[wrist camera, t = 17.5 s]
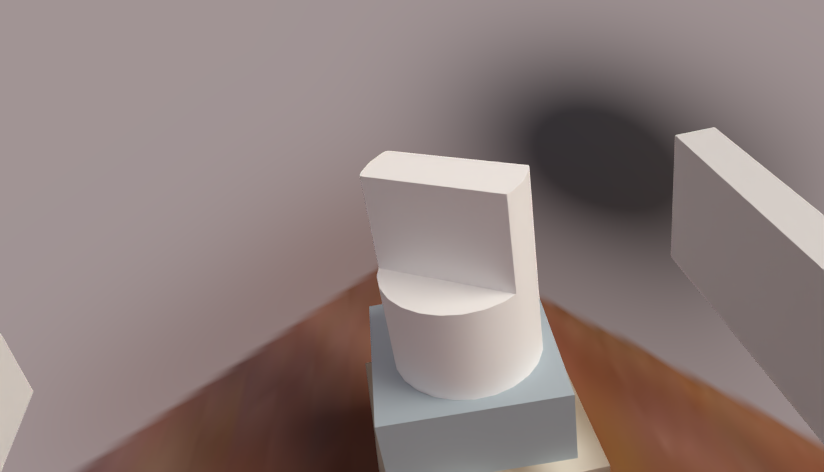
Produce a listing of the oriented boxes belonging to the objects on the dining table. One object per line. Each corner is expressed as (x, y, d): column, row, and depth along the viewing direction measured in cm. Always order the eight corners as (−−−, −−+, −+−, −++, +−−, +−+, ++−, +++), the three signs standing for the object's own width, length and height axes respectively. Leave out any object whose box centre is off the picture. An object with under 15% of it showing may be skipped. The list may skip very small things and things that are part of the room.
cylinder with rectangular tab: (564, 315, 47) (554, 139, 41) (509, 417, 41) (487, 227, 35) (434, 290, 51) (407, 127, 45) (366, 378, 45) (324, 203, 39)
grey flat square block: (389, 488, 44) (374, 427, 42) (382, 362, 54) (369, 306, 51) (577, 457, 44) (574, 394, 42) (537, 337, 53) (532, 279, 51)
